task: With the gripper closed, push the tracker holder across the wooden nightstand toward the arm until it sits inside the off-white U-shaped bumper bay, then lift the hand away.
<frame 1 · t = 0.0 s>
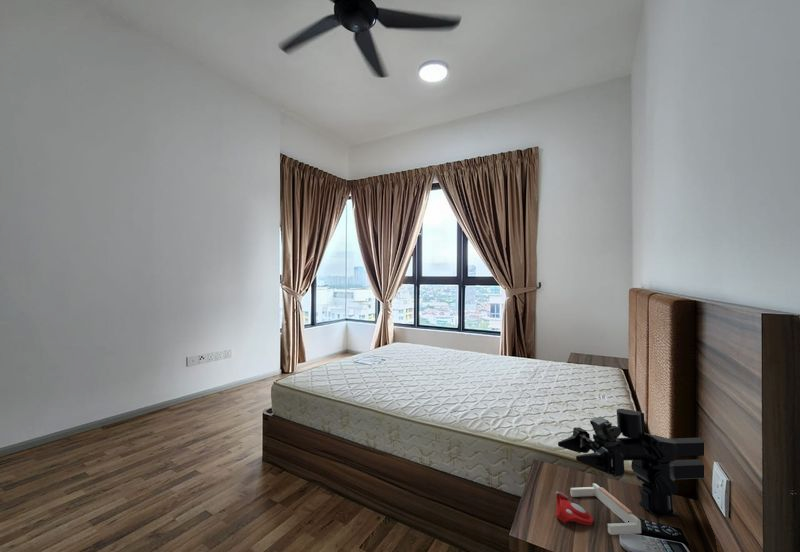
hand: (566, 450, 95), 17 cm above the nightstand, tool horizontal, fingers open, 9 cm apart
tracker holder: (571, 515, 94), on the nightstand
bumper bay: (595, 512, 94), on the nightstand
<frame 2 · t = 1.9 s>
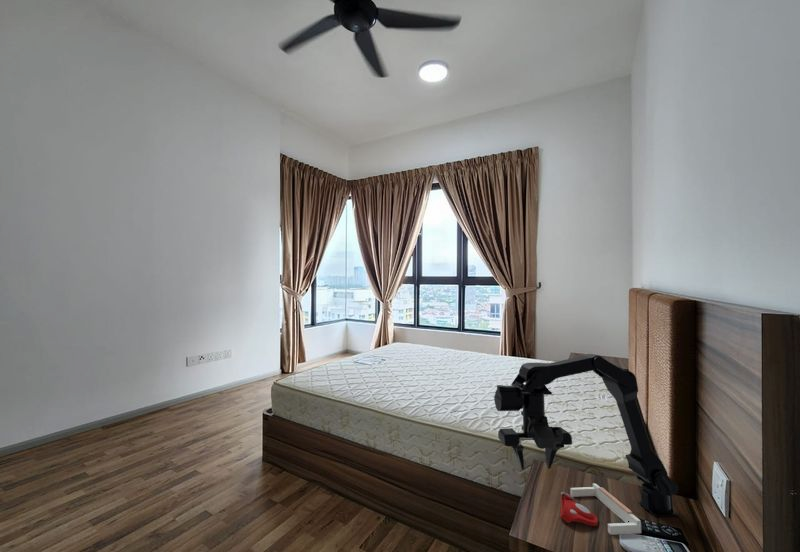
hand: (535, 468, 94), 12 cm above the nightstand, tool pointing down, fingers open, 7 cm apart
tracker holder: (576, 516, 94), on the nightstand
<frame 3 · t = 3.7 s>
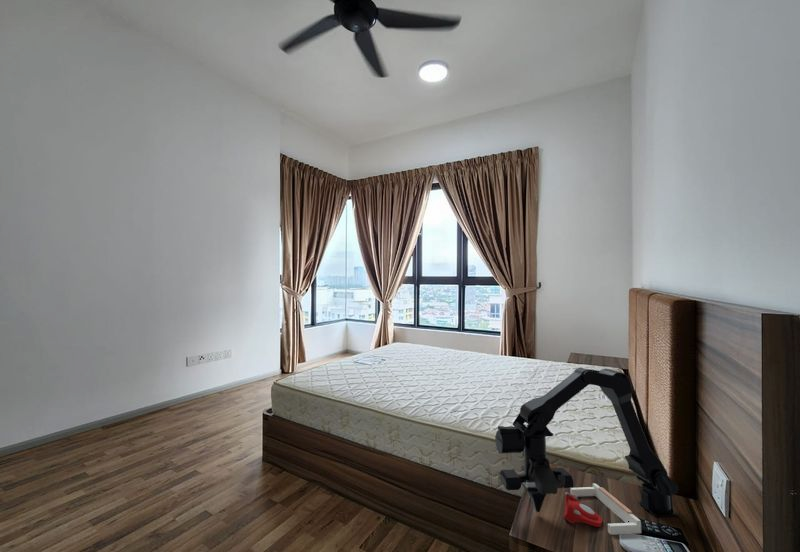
hand: (537, 511, 93), 1 cm above the nightstand, tool pointing down, fingers closed
tracker holder: (580, 516, 93), on the nightstand
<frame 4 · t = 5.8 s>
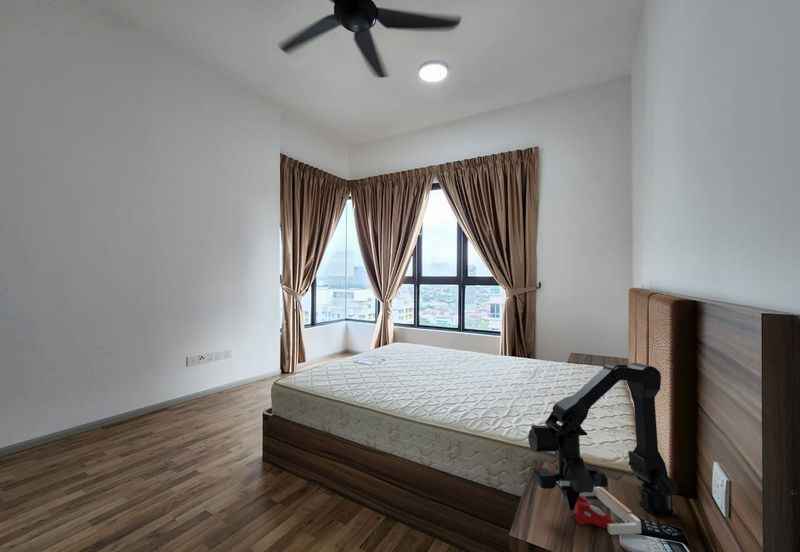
hand: (570, 509, 94), 1 cm above the nightstand, tool pointing down, fingers closed
tracker holder: (591, 518, 93), on the nightstand
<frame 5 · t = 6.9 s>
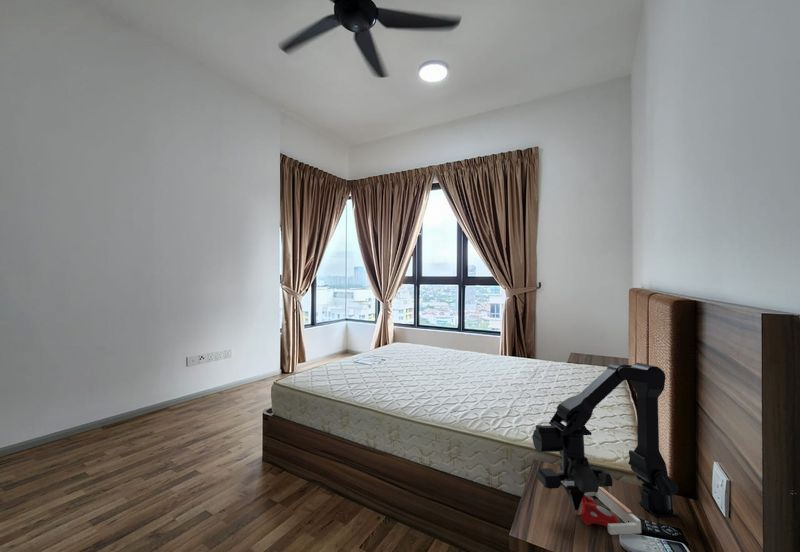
hand: (575, 509, 94), 1 cm above the nightstand, tool pointing down, fingers closed
tracker holder: (597, 518, 92), on the nightstand
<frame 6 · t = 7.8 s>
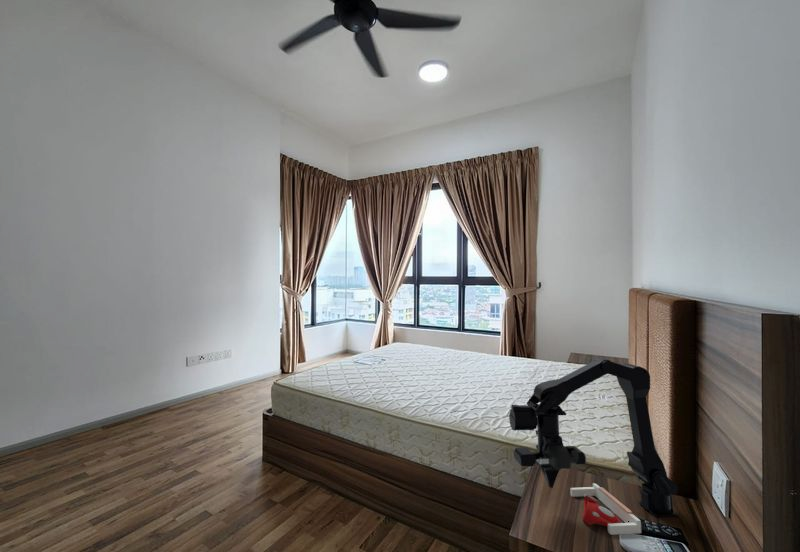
hand: (550, 487, 97), 6 cm above the nightstand, tool pointing down, fingers closed
nothing on the nightstand moved.
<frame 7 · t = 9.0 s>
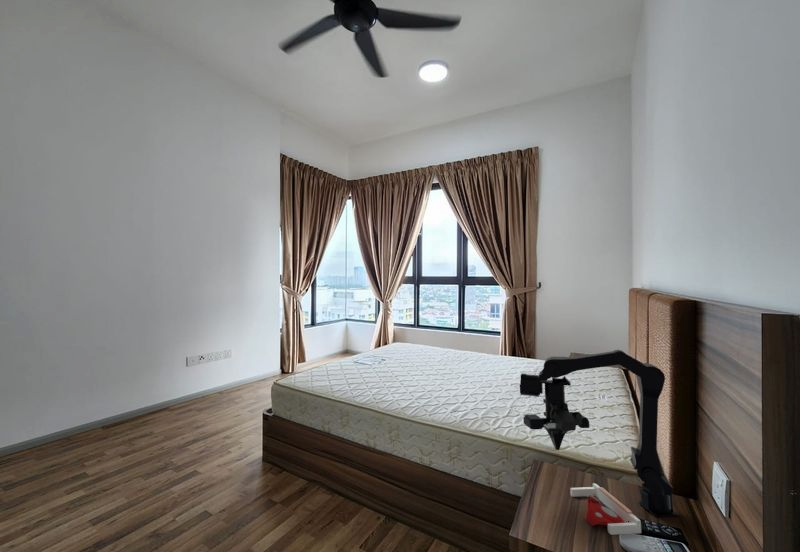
hand: (557, 449, 107), 12 cm above the nightstand, tool pointing down, fingers closed
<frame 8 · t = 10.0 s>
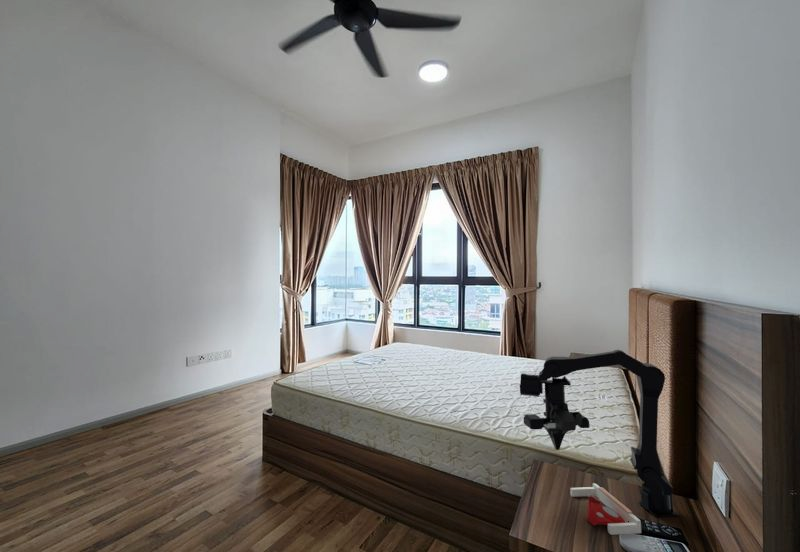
hand: (557, 449, 107), 12 cm above the nightstand, tool pointing down, fingers closed
at the end: tracker holder 2.4 cm from the target spot, on the nightstand; tracker holder tilted 0° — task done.
